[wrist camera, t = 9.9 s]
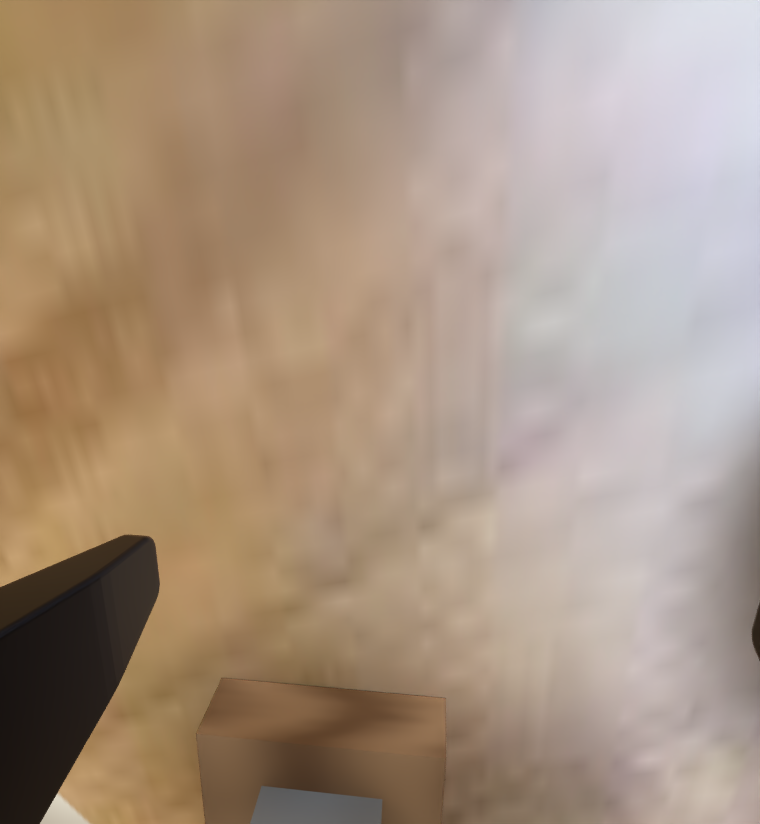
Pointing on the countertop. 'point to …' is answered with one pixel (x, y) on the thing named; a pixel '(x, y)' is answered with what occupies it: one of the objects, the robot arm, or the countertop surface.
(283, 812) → the blue-grey squarish block
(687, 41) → the countertop surface
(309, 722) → the base block
